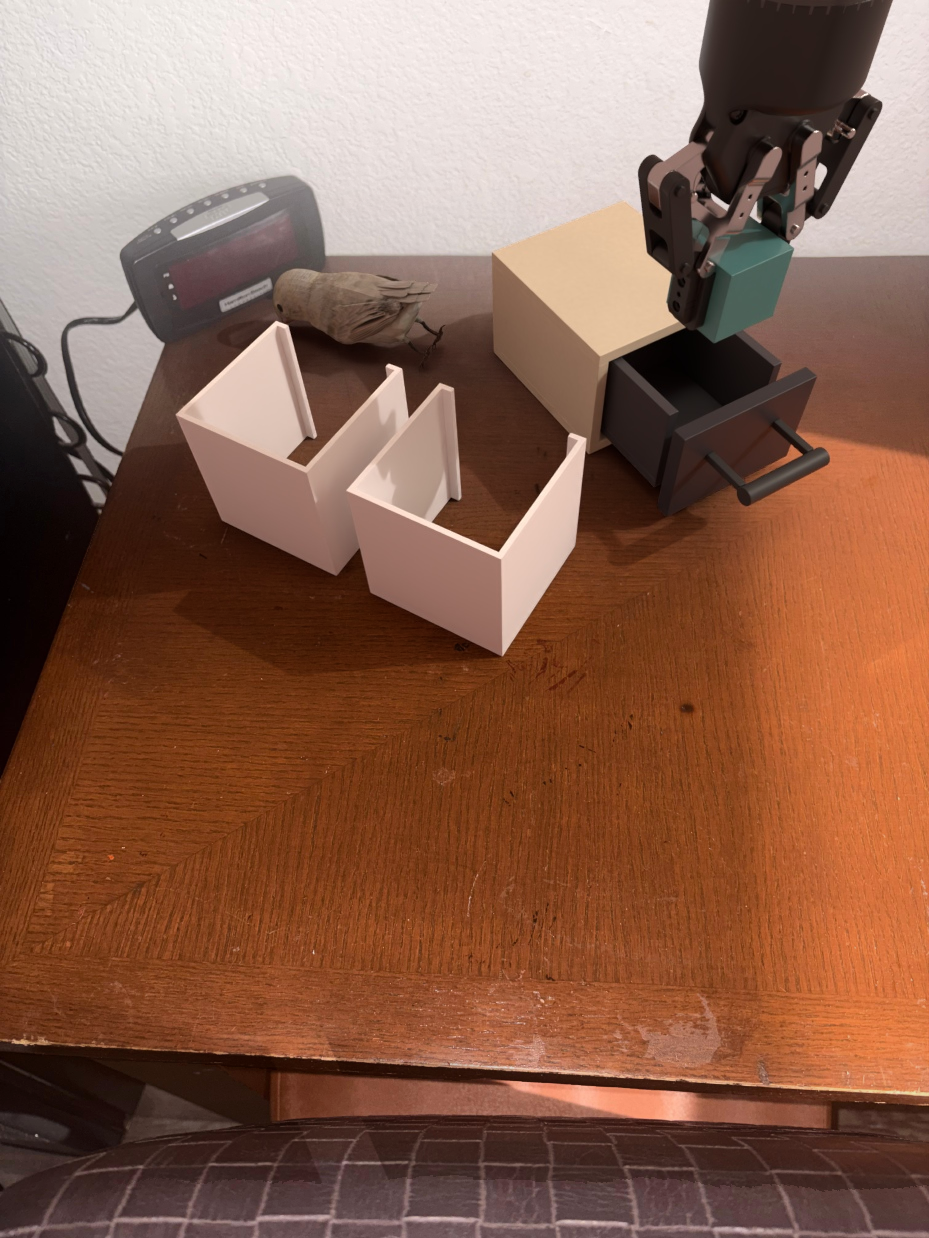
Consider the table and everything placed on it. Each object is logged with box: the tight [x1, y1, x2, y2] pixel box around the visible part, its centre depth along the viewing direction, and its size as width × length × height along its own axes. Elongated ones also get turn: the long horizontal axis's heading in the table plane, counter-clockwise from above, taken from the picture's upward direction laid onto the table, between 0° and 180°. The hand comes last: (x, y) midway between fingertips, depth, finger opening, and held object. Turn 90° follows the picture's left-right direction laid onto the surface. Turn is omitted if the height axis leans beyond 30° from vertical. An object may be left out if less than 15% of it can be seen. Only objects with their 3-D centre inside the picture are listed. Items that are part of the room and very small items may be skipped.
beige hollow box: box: [491, 200, 686, 455], centre depth 69 cm, size 15×13×10 cm
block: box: [666, 215, 795, 343], centre depth 48 cm, size 4×4×4 cm
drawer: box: [600, 328, 831, 518], centre depth 63 cm, size 18×12×8 cm, turn 30°
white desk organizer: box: [175, 320, 586, 657], centre depth 60 cm, size 25×11×11 cm, turn 59°
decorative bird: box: [272, 268, 446, 373], centre depth 74 cm, size 5×16×8 cm, turn 68°
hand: (720, 304), depth 50 cm, fingers closed on block, 4 cm apart
